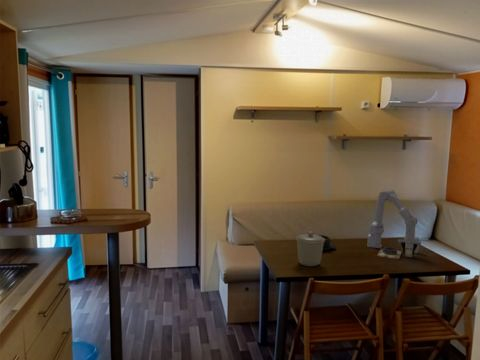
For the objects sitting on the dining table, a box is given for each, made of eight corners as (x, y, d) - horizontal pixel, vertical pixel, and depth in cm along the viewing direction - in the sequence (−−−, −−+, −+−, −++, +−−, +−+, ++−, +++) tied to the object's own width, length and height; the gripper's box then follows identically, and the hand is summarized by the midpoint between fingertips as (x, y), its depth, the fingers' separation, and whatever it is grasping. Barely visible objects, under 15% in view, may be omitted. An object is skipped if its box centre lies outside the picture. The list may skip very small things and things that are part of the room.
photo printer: (402, 250, 298) (403, 233, 296) (405, 249, 301) (406, 232, 299) (415, 253, 290) (417, 236, 288) (418, 252, 293) (420, 235, 291)
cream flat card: (377, 256, 283) (377, 250, 282) (381, 249, 299) (381, 244, 298) (398, 259, 276) (399, 253, 276) (401, 252, 292) (402, 247, 292)
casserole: (307, 253, 286) (307, 241, 284) (297, 245, 304) (297, 234, 302) (340, 251, 291) (341, 240, 290) (328, 244, 309) (329, 233, 308)
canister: (317, 259, 273) (319, 227, 270) (328, 268, 255) (329, 234, 253) (291, 259, 270) (292, 228, 267) (300, 269, 252) (301, 235, 249)
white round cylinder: (404, 256, 283) (404, 248, 282) (405, 254, 287) (405, 247, 287) (412, 257, 281) (412, 250, 280) (412, 255, 285) (413, 248, 284)
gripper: (398, 234, 282) (396, 253, 283) (421, 237, 275) (419, 257, 277) (399, 232, 288) (397, 251, 290) (422, 235, 281) (420, 254, 283)
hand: (408, 254), depth 284 cm, fingers closed on white round cylinder, 5 cm apart
